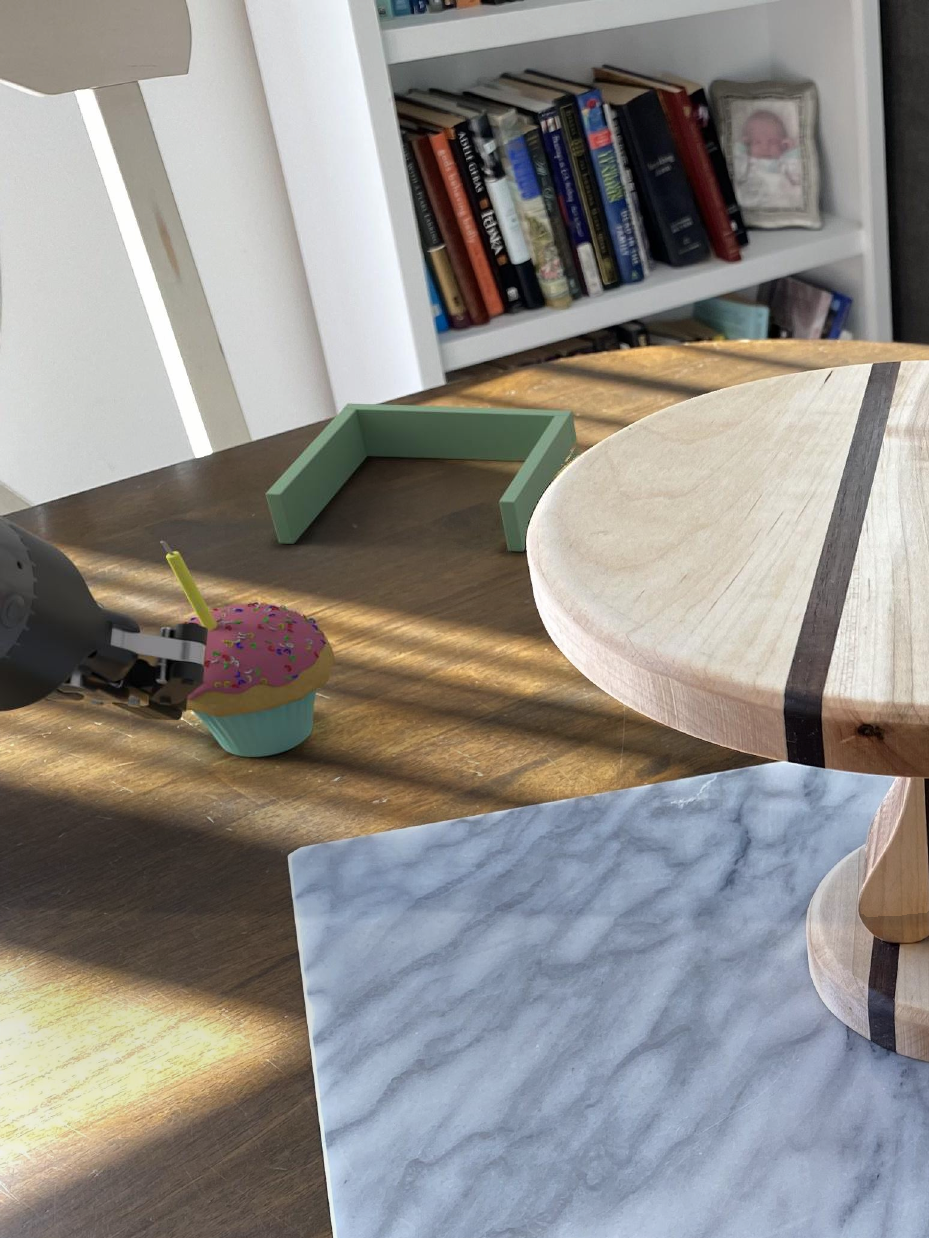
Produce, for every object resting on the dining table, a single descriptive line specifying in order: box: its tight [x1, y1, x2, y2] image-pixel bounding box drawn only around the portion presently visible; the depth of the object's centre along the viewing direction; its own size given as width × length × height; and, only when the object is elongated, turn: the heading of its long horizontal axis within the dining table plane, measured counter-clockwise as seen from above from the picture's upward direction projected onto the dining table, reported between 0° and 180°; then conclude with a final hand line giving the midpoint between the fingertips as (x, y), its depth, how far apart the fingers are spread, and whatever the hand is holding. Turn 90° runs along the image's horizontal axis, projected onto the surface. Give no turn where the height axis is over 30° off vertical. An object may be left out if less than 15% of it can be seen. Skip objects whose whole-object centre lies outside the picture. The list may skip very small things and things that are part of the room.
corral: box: [265, 402, 580, 553], centre depth 114 cm, size 15×16×4 cm
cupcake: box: [160, 540, 335, 758], centre depth 88 cm, size 9×8×12 cm
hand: (168, 699), depth 81 cm, fingers closed
